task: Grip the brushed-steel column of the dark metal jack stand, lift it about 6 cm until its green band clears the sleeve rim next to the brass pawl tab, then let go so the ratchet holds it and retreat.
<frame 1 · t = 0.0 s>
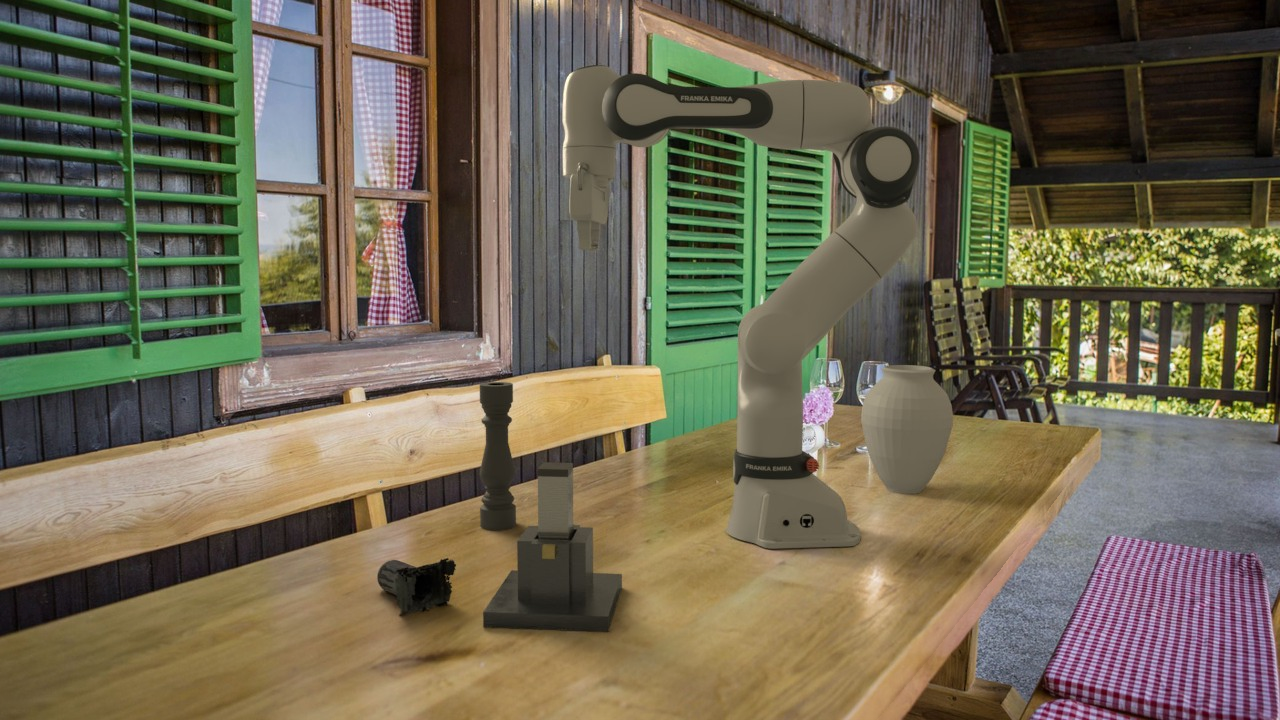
hand: (589, 250, 158), 48 cm above the table, fingers open, 8 cm apart
stand: (556, 606, 126), on the table
dark flanged cylinder: (407, 601, 129), on the table
candle holder: (498, 526, 165), on the table
vase: (904, 490, 191), on the table
column: (556, 528, 125), point 11 cm above the table, slide at 0.0 cm
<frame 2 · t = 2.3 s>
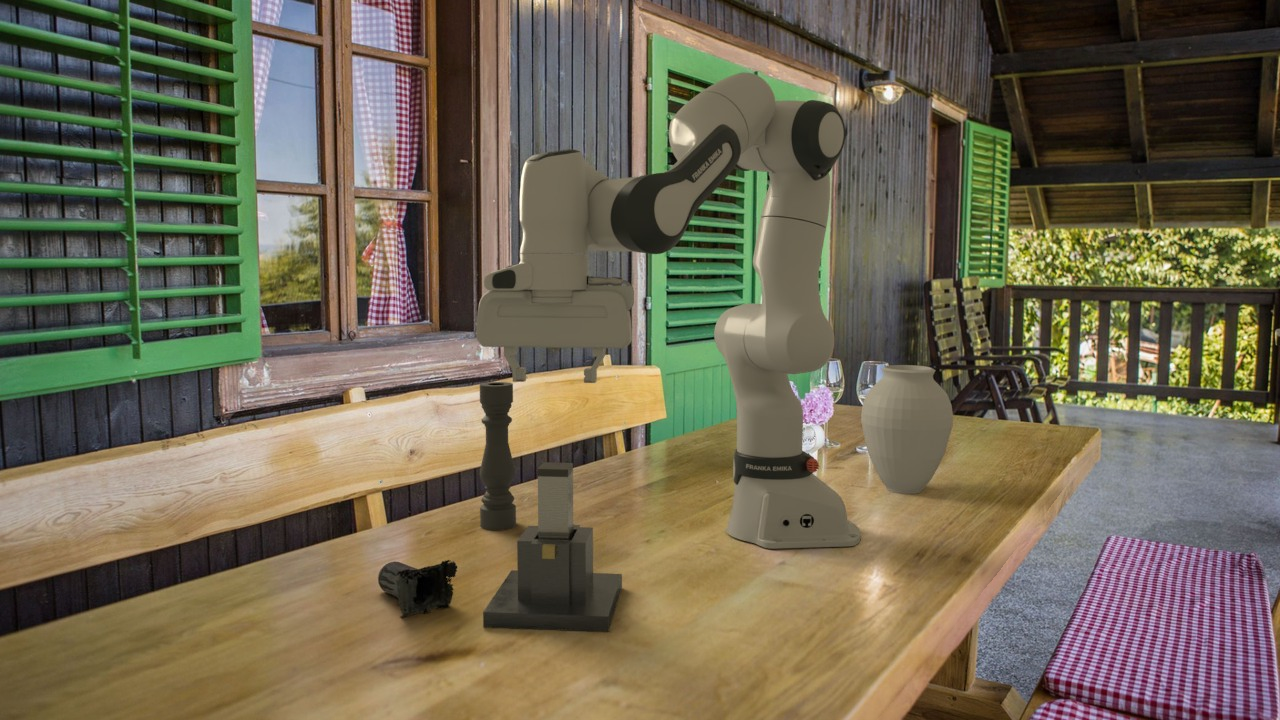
hand: (554, 381, 123), 31 cm above the table, fingers open, 8 cm apart
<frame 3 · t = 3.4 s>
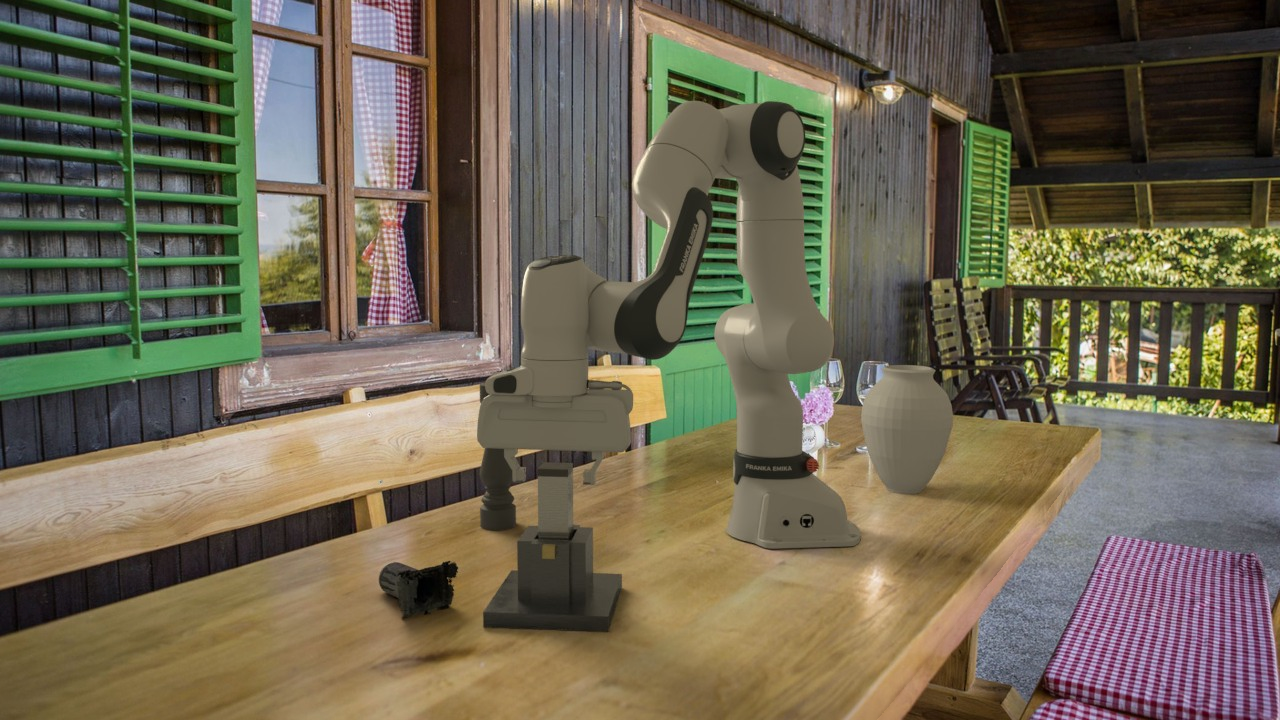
hand: (554, 482, 125), 17 cm above the table, fingers open, 8 cm apart
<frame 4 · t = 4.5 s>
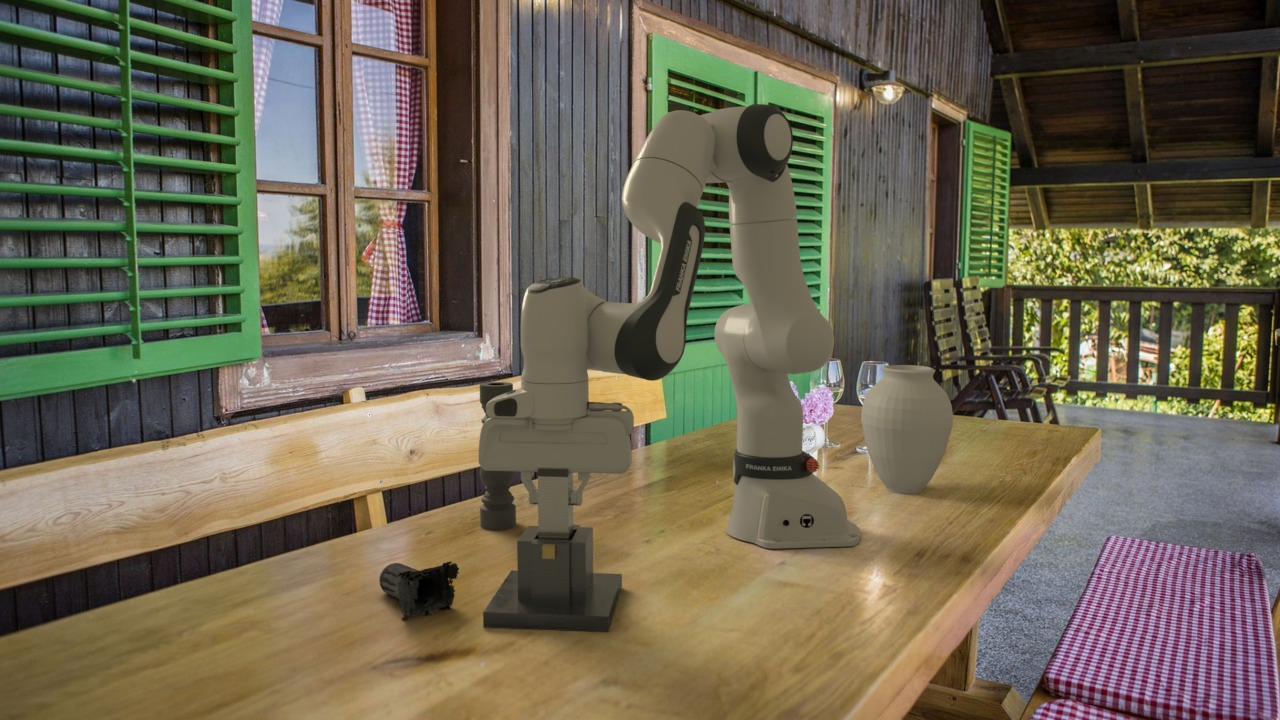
hand: (555, 504, 125), 14 cm above the table, fingers closed on column, 4 cm apart
column: (556, 528, 125), point 11 cm above the table, slide at 0.0 cm, touching gripper
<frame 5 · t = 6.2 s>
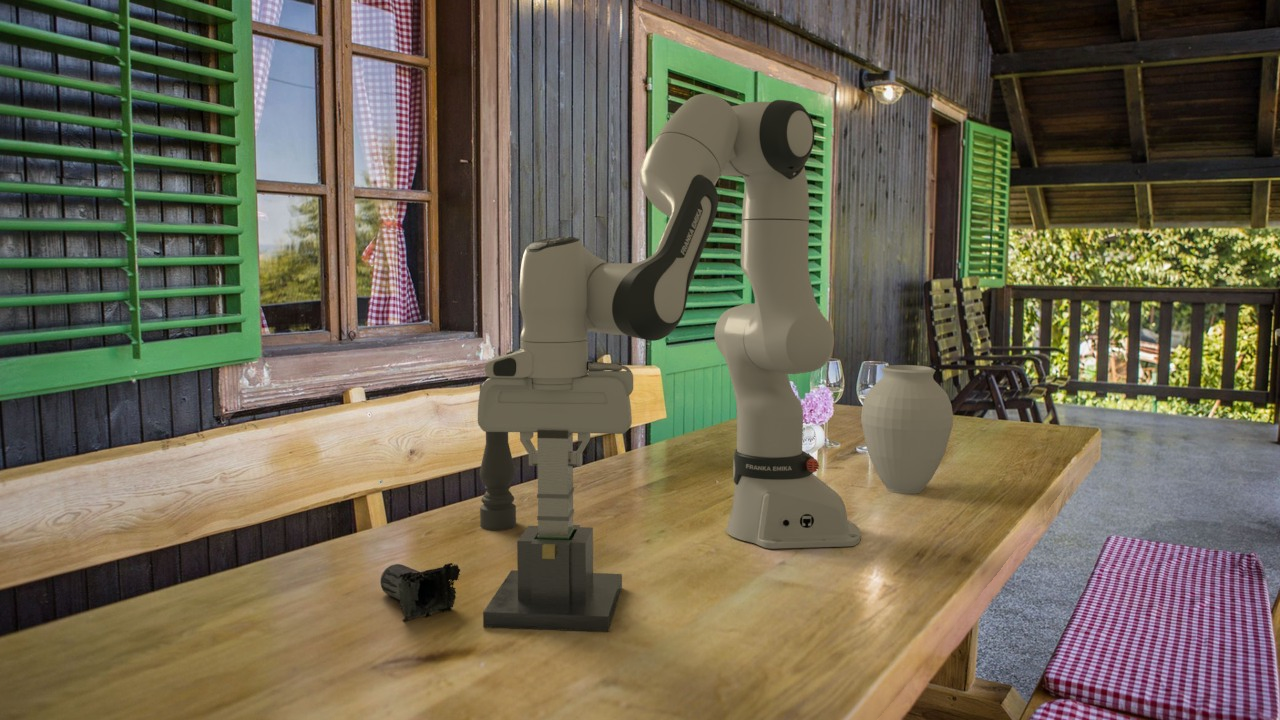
hand: (555, 465, 124), 19 cm above the table, fingers closed on column, 4 cm apart
column: (555, 491, 125), point 16 cm above the table, slide at 5.1 cm, touching gripper
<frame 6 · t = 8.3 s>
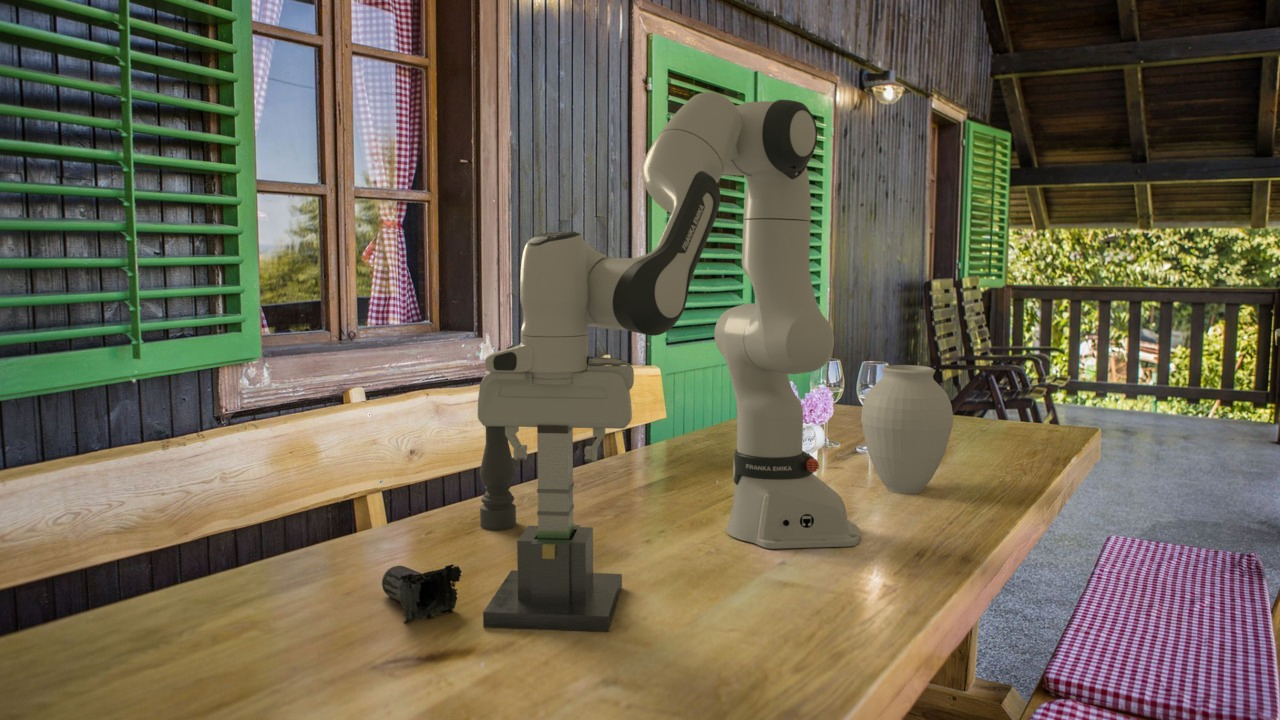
hand: (555, 460, 124), 20 cm above the table, fingers open, 8 cm apart
column: (555, 486, 125), point 17 cm above the table, slide at 5.8 cm
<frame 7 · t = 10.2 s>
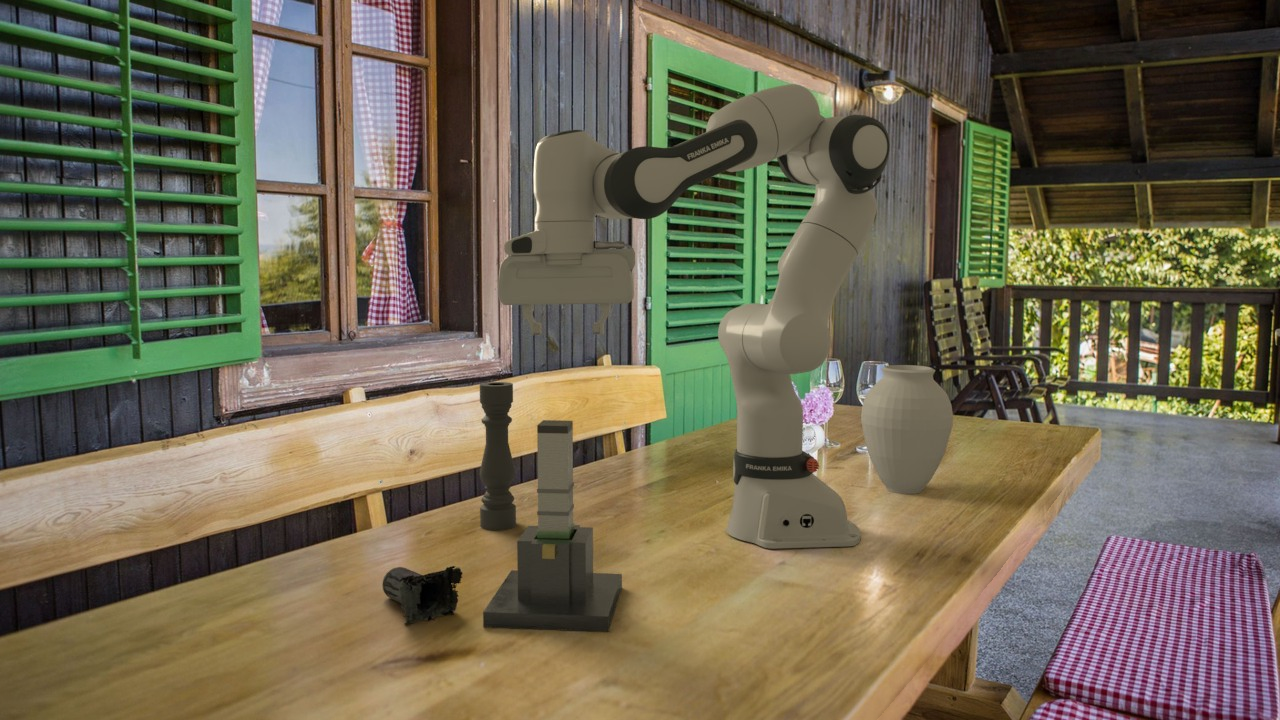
hand: (567, 334, 141), 35 cm above the table, fingers open, 8 cm apart
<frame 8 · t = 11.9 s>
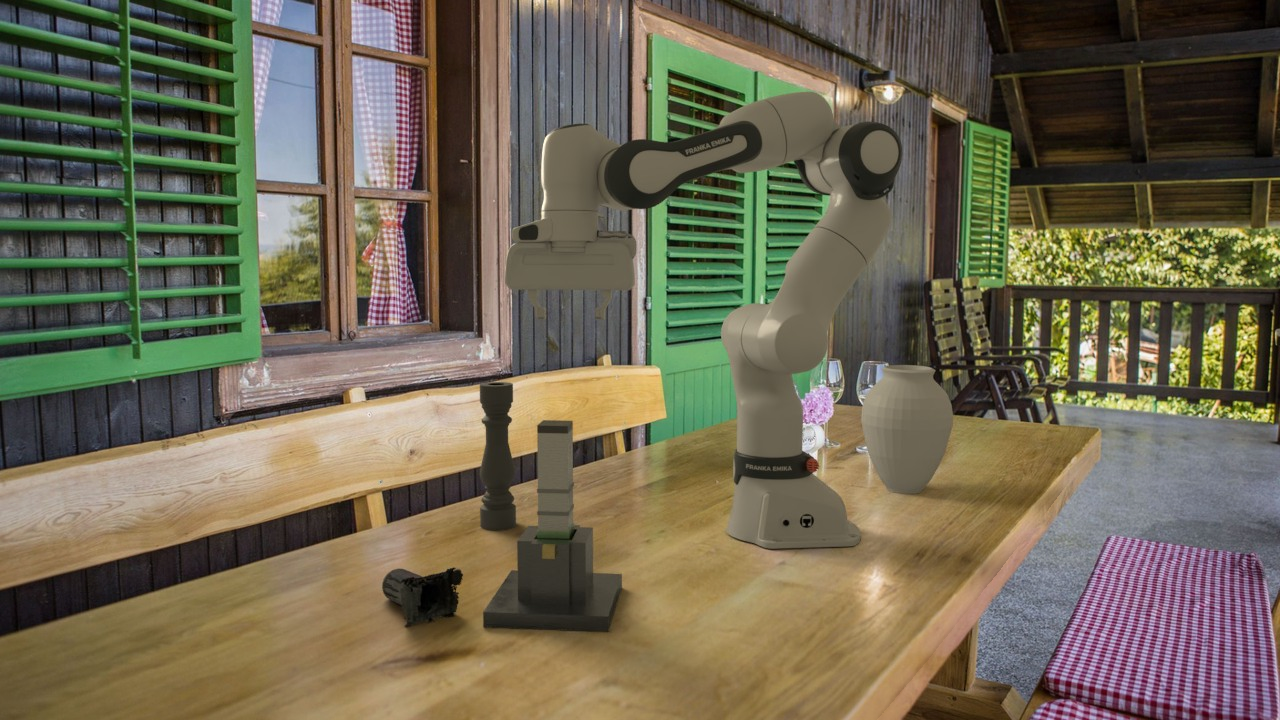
hand: (570, 319, 147), 37 cm above the table, fingers open, 8 cm apart
at the end: column slide at 5.8 cm; the gripper is holding nothing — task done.
